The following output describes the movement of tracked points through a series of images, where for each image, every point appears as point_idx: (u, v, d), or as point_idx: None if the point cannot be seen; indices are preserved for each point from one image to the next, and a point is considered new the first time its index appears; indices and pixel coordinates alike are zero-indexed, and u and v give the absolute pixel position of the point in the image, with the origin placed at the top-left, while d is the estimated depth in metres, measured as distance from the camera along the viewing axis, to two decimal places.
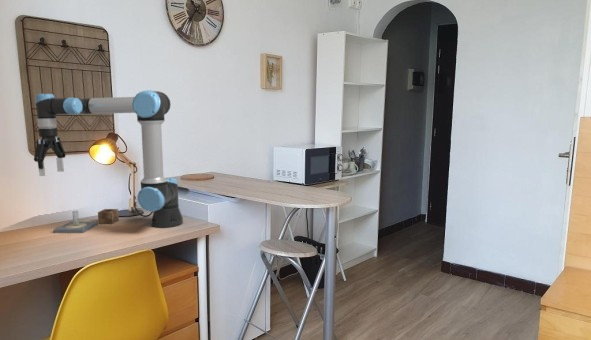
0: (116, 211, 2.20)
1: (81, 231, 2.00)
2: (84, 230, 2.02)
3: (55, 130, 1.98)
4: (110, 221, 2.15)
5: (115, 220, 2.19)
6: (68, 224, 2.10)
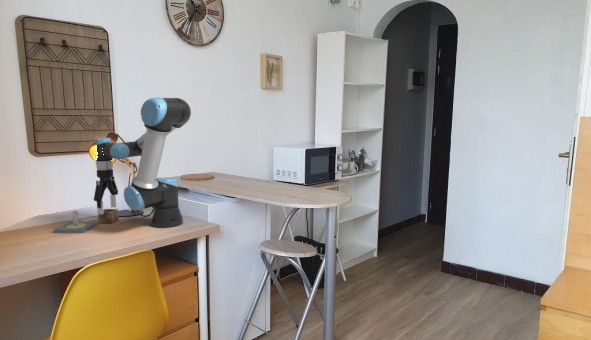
0: (116, 211, 2.20)
1: (81, 231, 2.00)
2: (84, 230, 2.02)
3: (111, 171, 2.15)
4: (110, 221, 2.15)
5: (115, 220, 2.19)
6: (68, 224, 2.10)
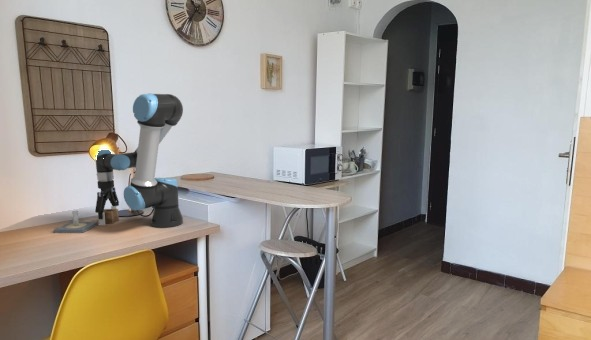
0: (116, 211, 2.20)
1: (81, 231, 2.00)
2: (84, 230, 2.02)
3: (112, 182, 2.16)
4: (110, 221, 2.15)
5: (115, 220, 2.19)
6: (68, 224, 2.10)
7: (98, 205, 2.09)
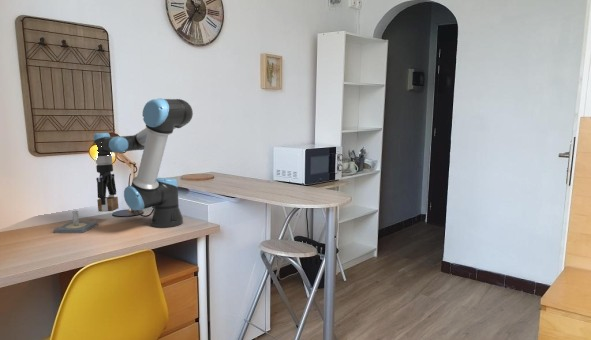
0: (116, 199, 2.18)
1: (81, 231, 2.00)
2: (84, 230, 2.02)
3: (111, 166, 2.14)
4: (110, 208, 2.14)
5: (115, 208, 2.17)
6: (68, 224, 2.10)
7: (99, 191, 2.09)
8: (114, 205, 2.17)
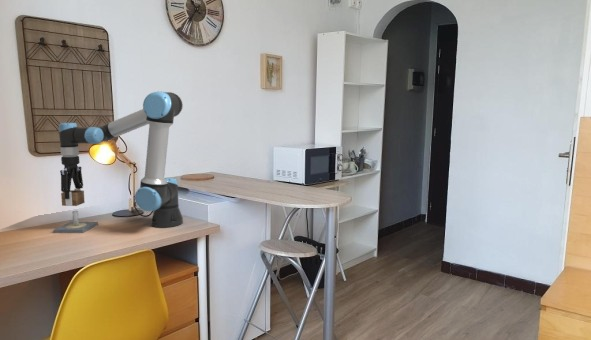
0: (81, 193, 2.07)
1: (81, 231, 2.00)
2: (84, 230, 2.02)
3: (77, 158, 2.02)
4: (74, 203, 2.02)
5: (80, 202, 2.06)
6: (68, 224, 2.10)
7: (63, 184, 1.98)
8: (79, 199, 2.05)
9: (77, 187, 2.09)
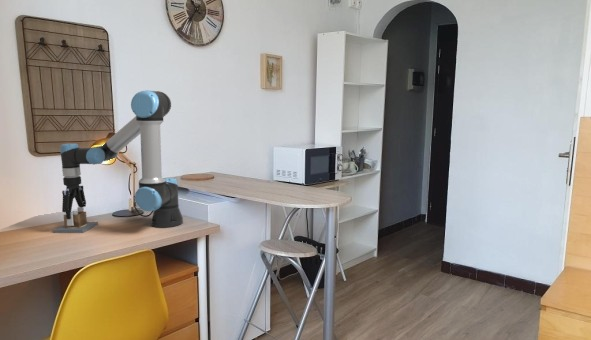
0: (84, 214, 2.08)
1: (81, 231, 2.00)
2: (84, 230, 2.02)
3: (79, 178, 2.04)
4: (77, 224, 2.04)
5: (82, 223, 2.07)
6: None
7: (65, 204, 1.98)
8: (82, 221, 2.06)
9: (80, 205, 2.11)
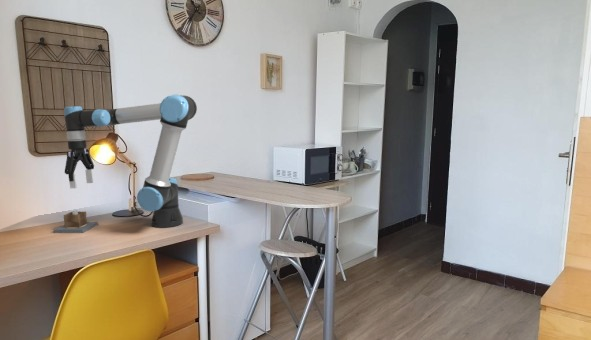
0: (84, 214, 2.08)
1: (81, 231, 2.00)
2: (84, 230, 2.02)
3: (84, 142, 1.99)
4: (77, 224, 2.04)
5: (82, 223, 2.07)
6: None
7: (68, 165, 1.92)
8: (82, 221, 2.06)
9: (88, 168, 2.08)
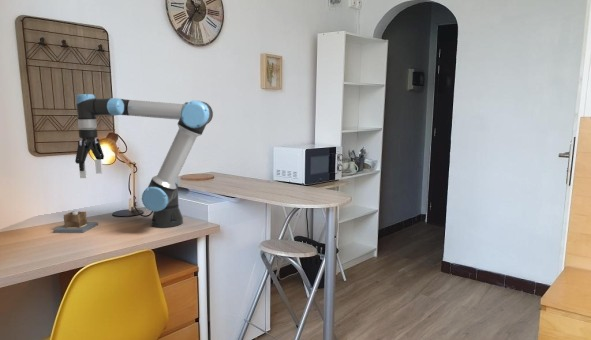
0: (84, 214, 2.08)
1: (81, 231, 2.00)
2: (84, 230, 2.02)
3: (95, 131, 1.94)
4: (77, 224, 2.04)
5: (82, 223, 2.07)
6: None
7: (79, 155, 1.87)
8: (82, 221, 2.06)
9: (98, 158, 2.03)
